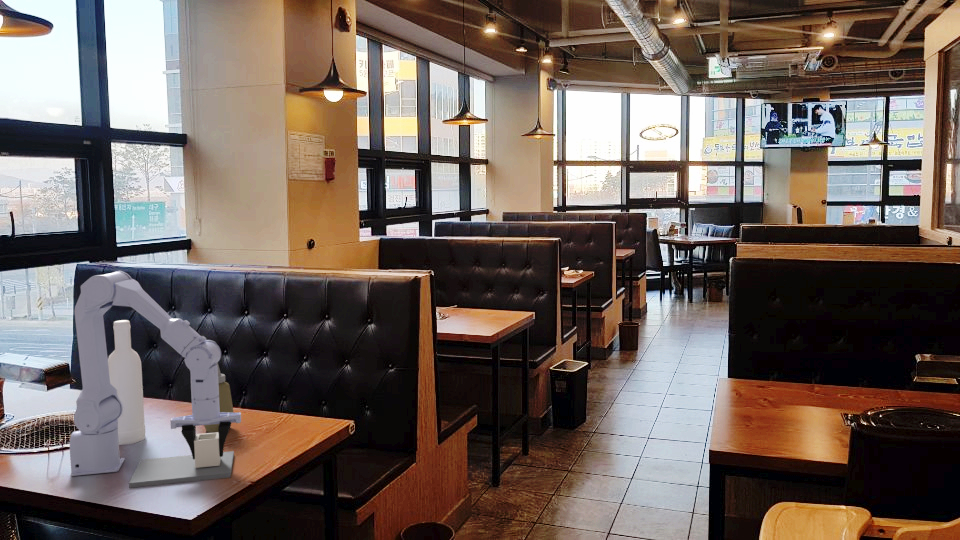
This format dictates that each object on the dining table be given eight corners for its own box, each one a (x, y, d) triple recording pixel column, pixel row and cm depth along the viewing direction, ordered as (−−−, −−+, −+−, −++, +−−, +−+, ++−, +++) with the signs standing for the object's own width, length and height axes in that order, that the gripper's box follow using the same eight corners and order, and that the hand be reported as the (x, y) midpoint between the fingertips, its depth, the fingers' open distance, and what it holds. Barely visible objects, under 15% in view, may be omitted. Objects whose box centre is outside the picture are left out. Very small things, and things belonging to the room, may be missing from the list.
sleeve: (195, 467, 160) (194, 441, 159) (197, 459, 165) (196, 434, 164) (219, 465, 161) (218, 439, 161) (221, 457, 166) (220, 432, 166)
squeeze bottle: (239, 425, 194) (236, 358, 192) (226, 435, 186) (223, 365, 184) (210, 424, 195) (207, 358, 193) (195, 434, 187) (192, 365, 185)
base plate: (129, 487, 153) (128, 466, 152) (141, 464, 166) (139, 444, 166) (230, 477, 158) (229, 457, 157) (233, 455, 171) (233, 436, 171)
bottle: (110, 437, 184) (103, 320, 181) (144, 432, 188) (138, 317, 185) (110, 447, 177) (103, 325, 174) (146, 442, 181) (140, 322, 178)
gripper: (167, 404, 156) (170, 466, 157) (239, 398, 160) (241, 459, 161) (171, 395, 163) (174, 455, 164) (240, 390, 166) (242, 448, 168)
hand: (208, 456), depth 163 cm, fingers closed on sleeve, 5 cm apart
